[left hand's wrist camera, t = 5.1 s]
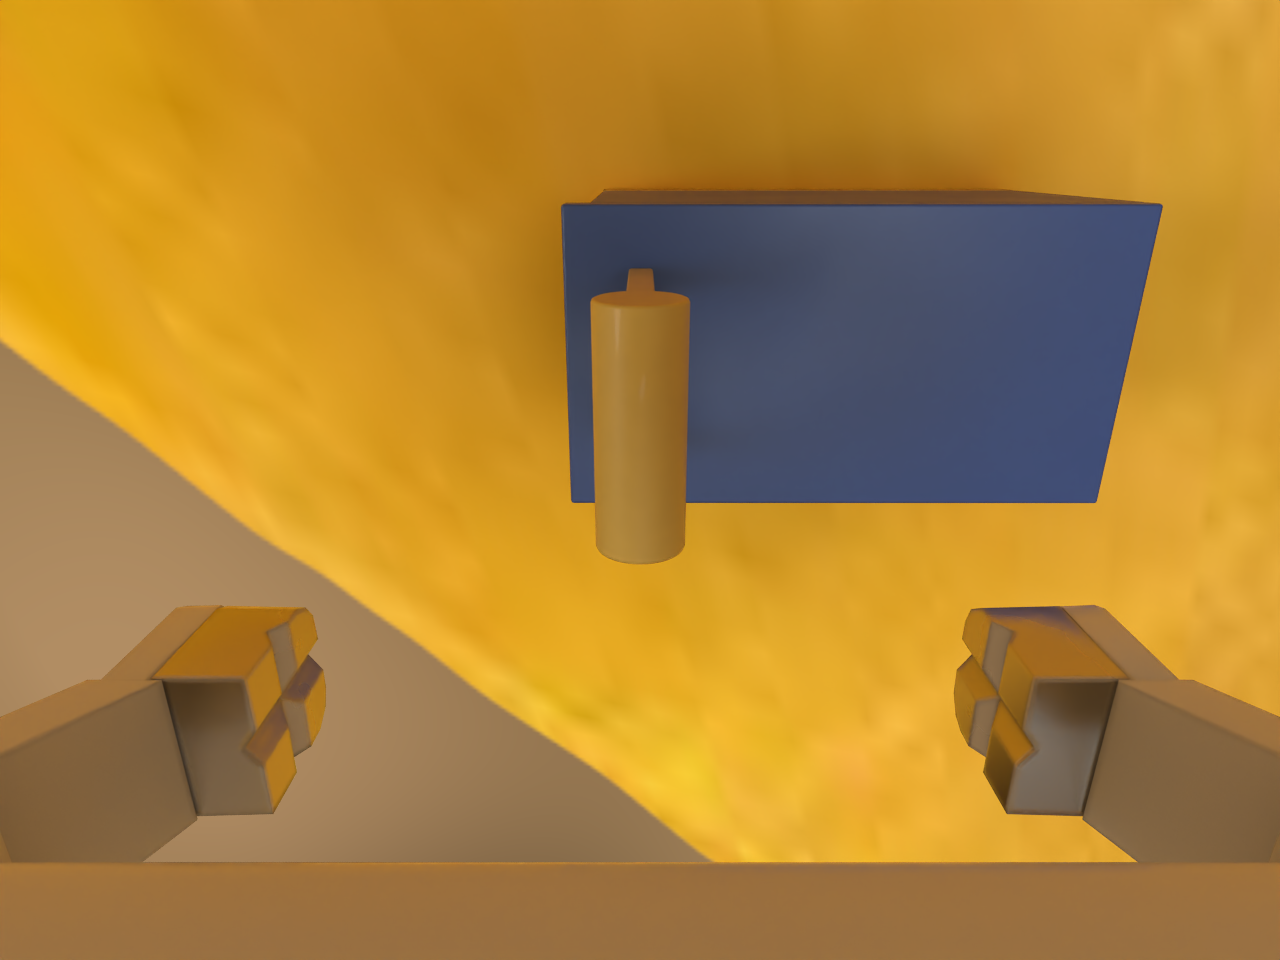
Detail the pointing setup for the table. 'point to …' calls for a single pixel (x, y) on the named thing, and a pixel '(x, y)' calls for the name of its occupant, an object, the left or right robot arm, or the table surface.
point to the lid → (842, 354)
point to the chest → (838, 196)
